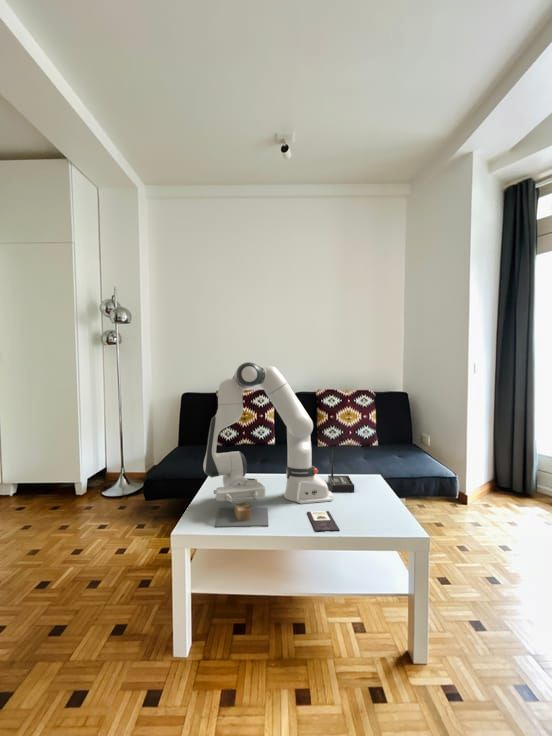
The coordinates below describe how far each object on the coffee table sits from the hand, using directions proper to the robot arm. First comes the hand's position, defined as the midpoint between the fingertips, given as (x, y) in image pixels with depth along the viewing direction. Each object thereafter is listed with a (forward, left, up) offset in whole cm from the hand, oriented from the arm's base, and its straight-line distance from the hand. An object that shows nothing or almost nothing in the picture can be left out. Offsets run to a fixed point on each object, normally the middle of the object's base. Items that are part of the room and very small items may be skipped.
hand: (244, 498), depth 150 cm
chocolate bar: (-30, +2, -9) cm, 32 cm away
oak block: (0, +1, -6) cm, 6 cm away
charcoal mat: (+1, -3, -8) cm, 9 cm away
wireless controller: (-46, -41, -9) cm, 63 cm away
